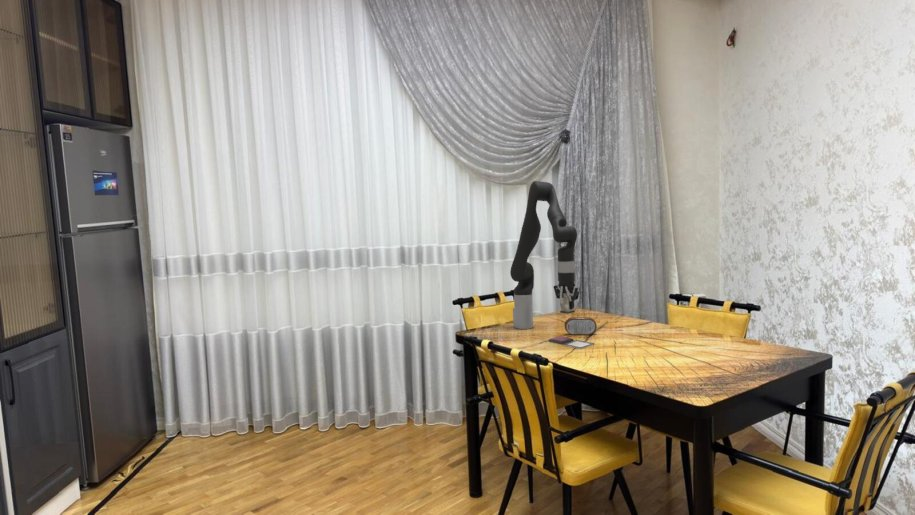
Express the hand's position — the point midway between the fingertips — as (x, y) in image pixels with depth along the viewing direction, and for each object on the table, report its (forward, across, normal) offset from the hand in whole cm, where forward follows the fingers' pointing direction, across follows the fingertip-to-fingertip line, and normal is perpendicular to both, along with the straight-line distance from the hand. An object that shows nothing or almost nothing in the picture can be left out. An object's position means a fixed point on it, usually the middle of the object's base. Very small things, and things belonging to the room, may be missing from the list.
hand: (567, 308), depth 273 cm
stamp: (+2, 0, 0) cm, 2 cm away
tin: (+16, -5, +16) cm, 23 cm away
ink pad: (+16, -4, 0) cm, 16 cm away
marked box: (+16, +6, 0) cm, 17 cm away
